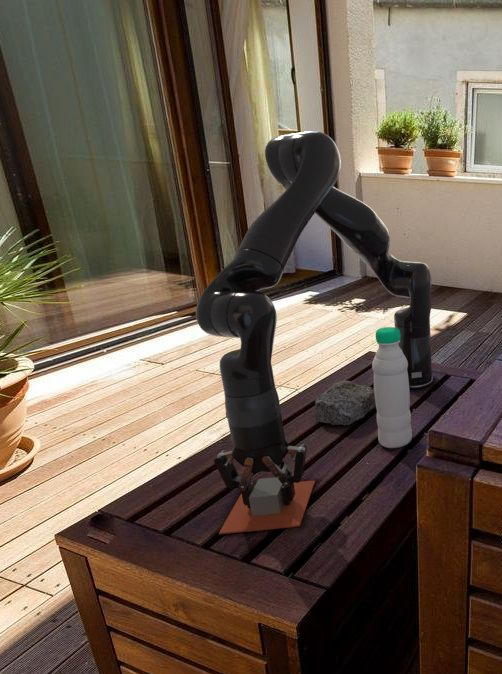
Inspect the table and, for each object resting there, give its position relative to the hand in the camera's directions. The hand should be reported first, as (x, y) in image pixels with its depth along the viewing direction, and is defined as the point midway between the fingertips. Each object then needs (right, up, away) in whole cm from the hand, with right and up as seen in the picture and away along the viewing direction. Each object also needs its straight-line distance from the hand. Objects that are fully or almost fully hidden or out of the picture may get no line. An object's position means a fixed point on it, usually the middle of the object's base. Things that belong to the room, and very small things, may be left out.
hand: (270, 503), depth 80 cm
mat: (0, -1, 0) cm, 1 cm away
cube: (0, 0, 0) cm, 0 cm away
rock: (+3, +10, +32) cm, 34 cm away
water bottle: (+17, +6, +21) cm, 27 cm away
